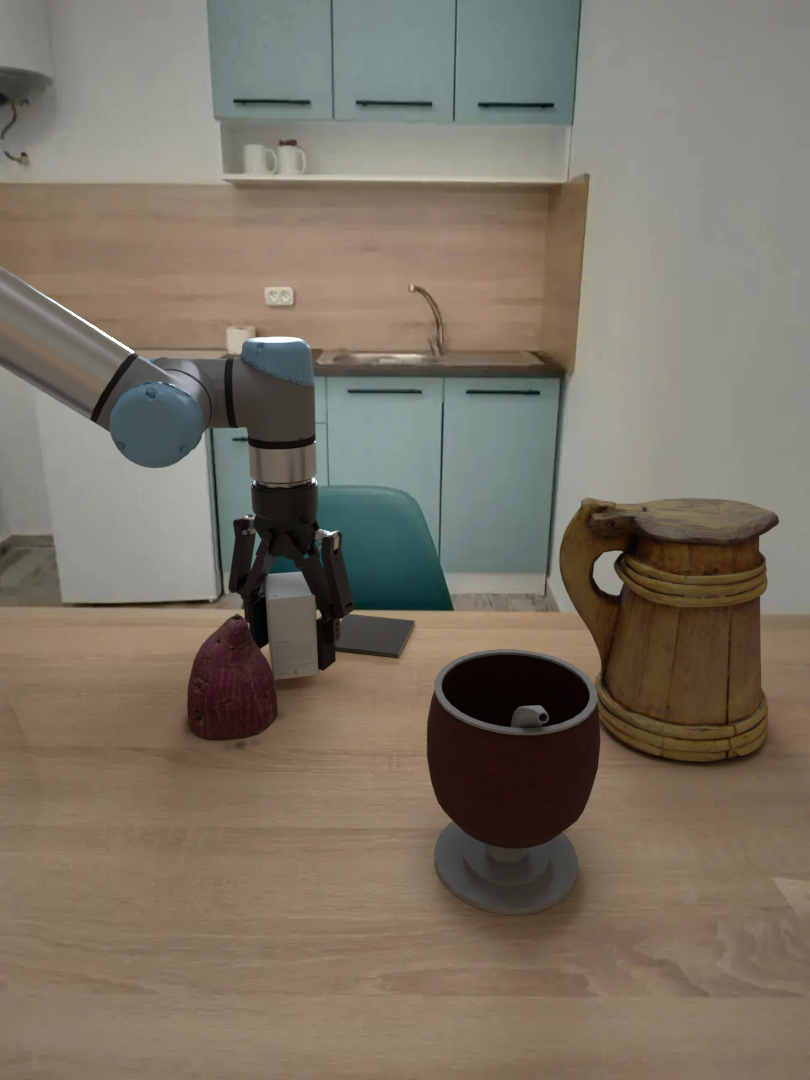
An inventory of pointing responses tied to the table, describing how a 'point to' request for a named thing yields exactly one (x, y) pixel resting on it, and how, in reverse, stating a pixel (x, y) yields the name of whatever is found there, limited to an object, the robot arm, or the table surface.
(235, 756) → the table surface
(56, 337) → the robot arm
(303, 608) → the small box
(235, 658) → the vegetable
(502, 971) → the table surface
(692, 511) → the tankard
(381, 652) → the slate coaster
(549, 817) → the mate gourd
